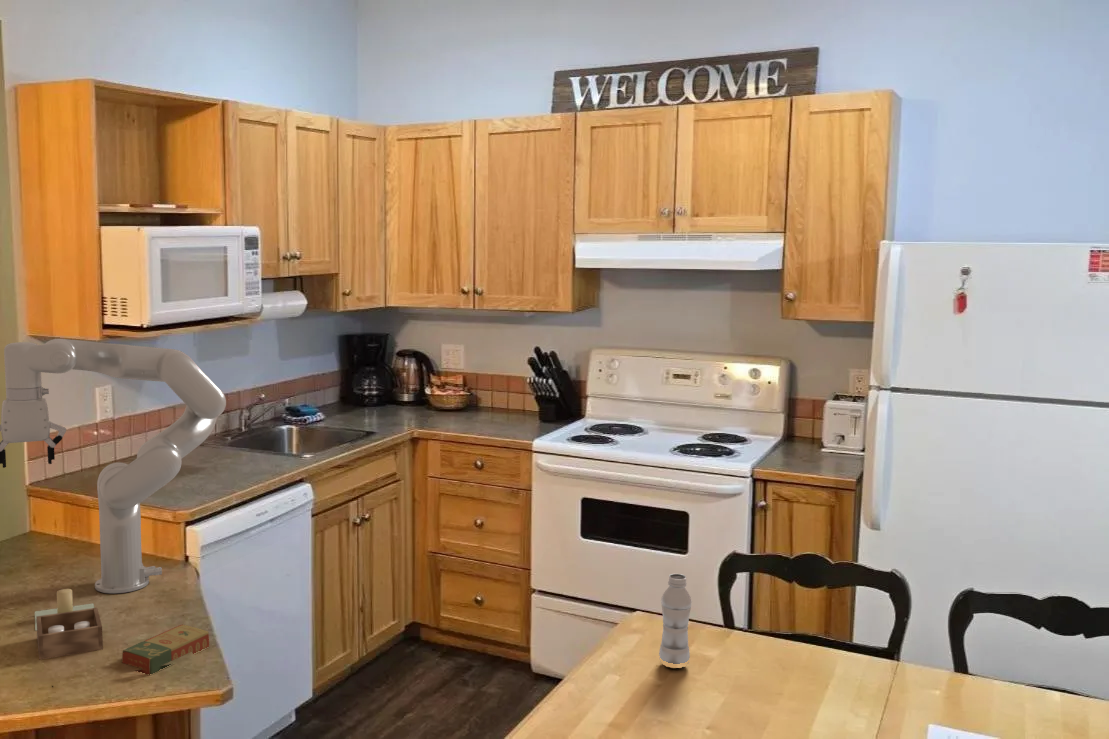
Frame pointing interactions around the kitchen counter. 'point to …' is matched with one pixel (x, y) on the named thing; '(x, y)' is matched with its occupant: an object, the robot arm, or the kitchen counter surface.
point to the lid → (63, 605)
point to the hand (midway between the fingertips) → (27, 464)
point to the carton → (165, 648)
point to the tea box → (69, 633)
